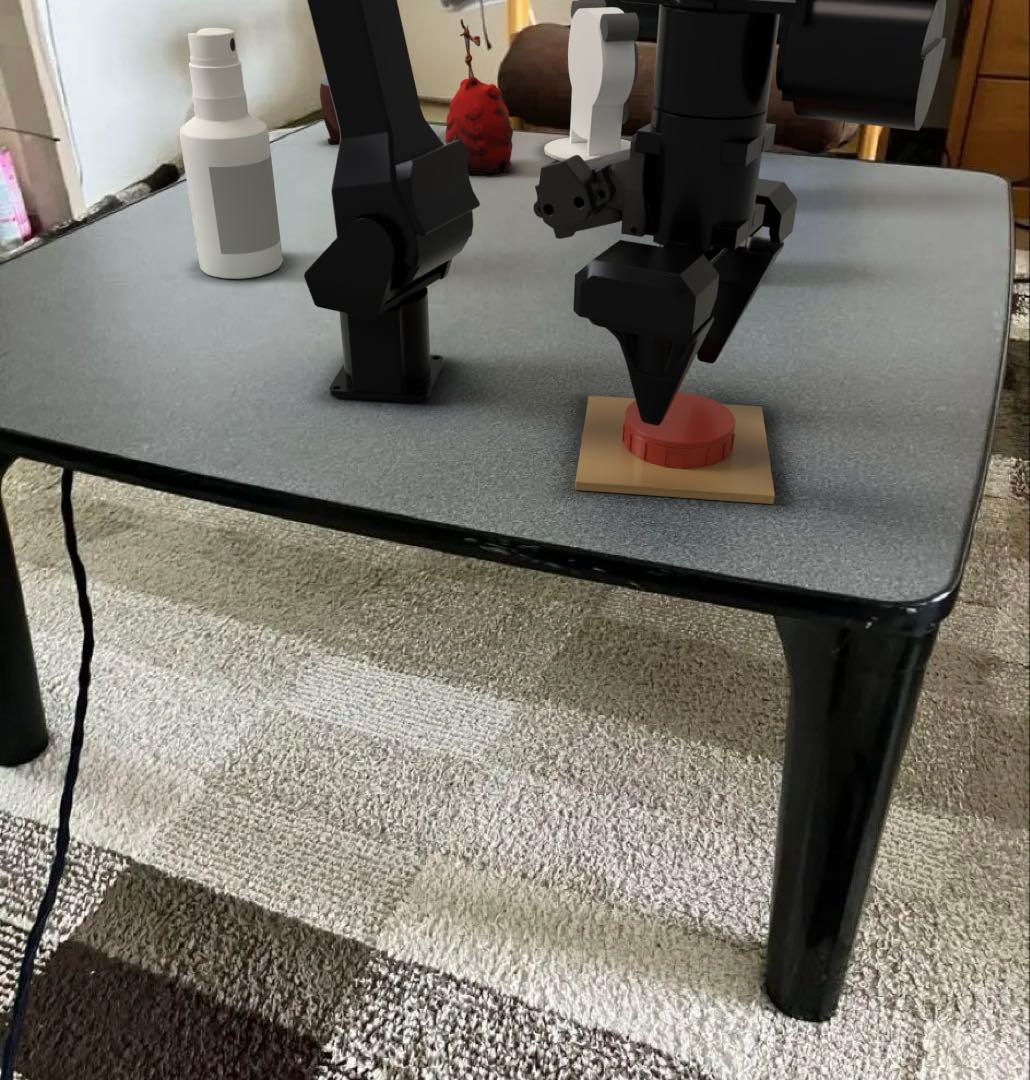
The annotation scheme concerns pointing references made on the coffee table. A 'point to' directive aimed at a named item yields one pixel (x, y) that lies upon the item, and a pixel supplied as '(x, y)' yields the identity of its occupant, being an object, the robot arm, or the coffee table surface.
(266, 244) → the spray bottle
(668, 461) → the jar lid
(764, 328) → the coffee table surface
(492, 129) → the red clay folk toy
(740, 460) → the coaster
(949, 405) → the coffee table surface
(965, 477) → the coffee table surface
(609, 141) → the white stand
